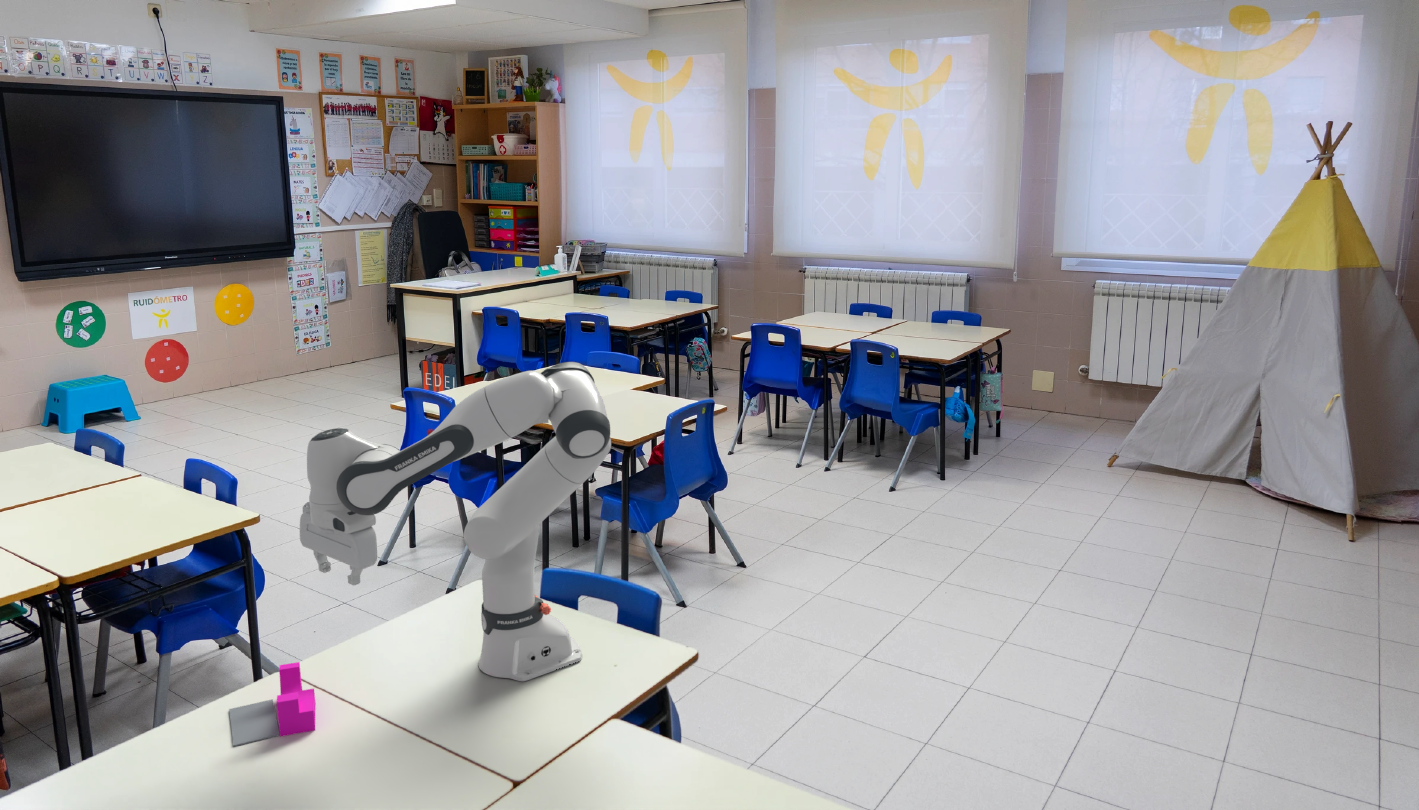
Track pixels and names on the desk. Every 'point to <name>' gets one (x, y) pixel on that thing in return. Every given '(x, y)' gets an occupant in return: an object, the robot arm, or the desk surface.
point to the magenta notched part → (294, 702)
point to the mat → (253, 722)
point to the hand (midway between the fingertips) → (339, 577)
